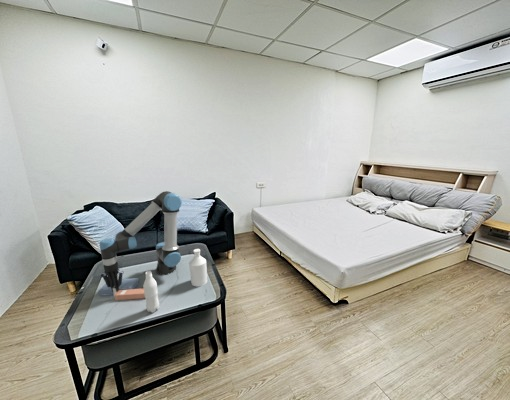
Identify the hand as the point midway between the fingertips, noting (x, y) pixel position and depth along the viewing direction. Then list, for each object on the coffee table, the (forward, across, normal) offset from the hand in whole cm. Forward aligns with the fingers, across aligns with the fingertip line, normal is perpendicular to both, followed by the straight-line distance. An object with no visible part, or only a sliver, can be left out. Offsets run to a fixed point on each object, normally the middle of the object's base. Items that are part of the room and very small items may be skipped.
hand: (116, 295), depth 141 cm
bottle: (+2, -51, -12) cm, 53 cm away
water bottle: (+2, -28, +14) cm, 32 cm away
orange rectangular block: (+2, -11, 0) cm, 11 cm away
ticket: (+2, +3, -10) cm, 10 cm away
